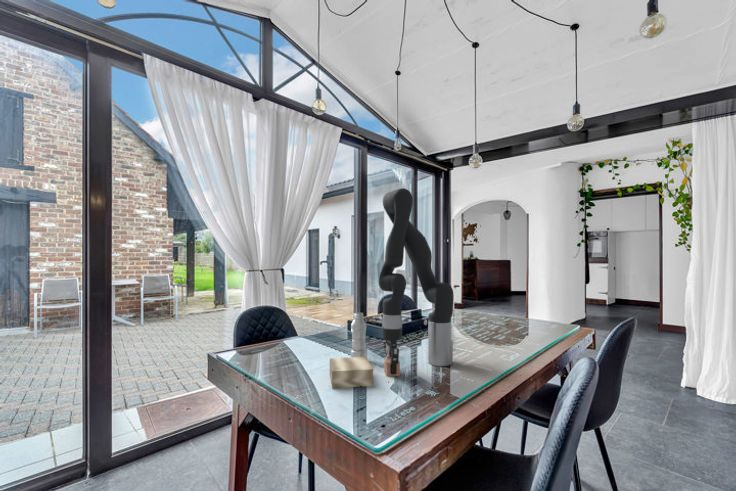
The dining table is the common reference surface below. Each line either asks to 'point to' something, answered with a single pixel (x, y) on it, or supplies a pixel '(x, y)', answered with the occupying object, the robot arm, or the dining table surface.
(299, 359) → the dining table surface
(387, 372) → the terracotta block
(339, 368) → the beige square slab
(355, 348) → the plastic bottle
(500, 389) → the dining table surface
